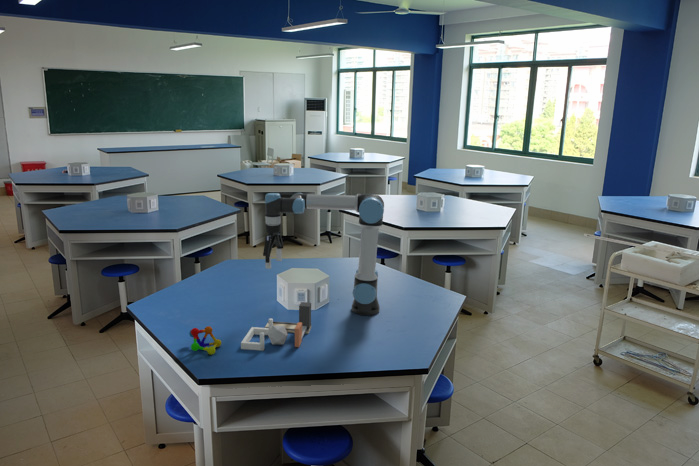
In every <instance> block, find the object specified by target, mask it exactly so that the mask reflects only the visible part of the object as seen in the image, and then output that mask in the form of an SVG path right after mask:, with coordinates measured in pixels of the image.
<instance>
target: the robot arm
mask: <svg viewBox="0 0 699 466" xmlns="http://www.w3.org/2000/svg"><path fill="white" fill-rule="evenodd" d="M264 209H265V211H264V213H265V215H264V219H265V232H266V233H268V235H266V236H265V241H264V245H263V246H264V247H263V252H262V256H263V257H265V258H264V259H265V260H264V262H265V263H264V264H265V269H267V270H271V269H272V256H271V253H272V250H273V246H274V245H275V246H276V247H275V253H276V254H275V255H276V259H275V260H276V262H282V259H283V257H282V249H284V242H283V238H282V231H281V230H282V229H281V228H282V226H281V223H282V220H281V217H282V215H281V214H296V215H297V214H298V215H299V214H304V212H305V209H306V210H308V209H311V210H333V211H334V210H336V211H355V212H356V213H358V214H359V216H358V224H359V226H360V227H361V228H360V229H361V230H360V243H359V254H358V256H359V257H358V265H357V266H358V269H356V272H355V275H354V281H353V290H352V297H353V301H352V304H351V311H352V313H354V314H356V315H360V316H373V315H377V314H379V313H380V310H381V309H380V304H379V300H378V277H379V275H378V274H379V271H378V270H377V269H376V268H377V267H376V265H377V256H378V255H377V252H378V242H379V231H380V229H379V228H381V227H382V226H383V220H384V212H385V202H384V200H383V198H382V197H381V196H380V195H378V194H376V193H357V194H356V195H344V194H311V193H308V194H307V193H302V192H296V193H294V194H292V195H291V197H281V194H280V193H279V192H277V193H276V192H269V193H266V194H265V197H264Z"/></svg>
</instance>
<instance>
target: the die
mask: <svg viewBox="0 0 699 466" xmlns="http://www.w3.org/2000/svg"><path fill="white" fill-rule="evenodd" d="M267 336H268V338H269V340H270V343H271V345H277V346H278V345H280V346H281V345H285V342H286V340H287V338H288V336H289V334H288V332H287V331H286V329H285V326H272V328H271V331H270V333H269V335H267Z"/></svg>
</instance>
